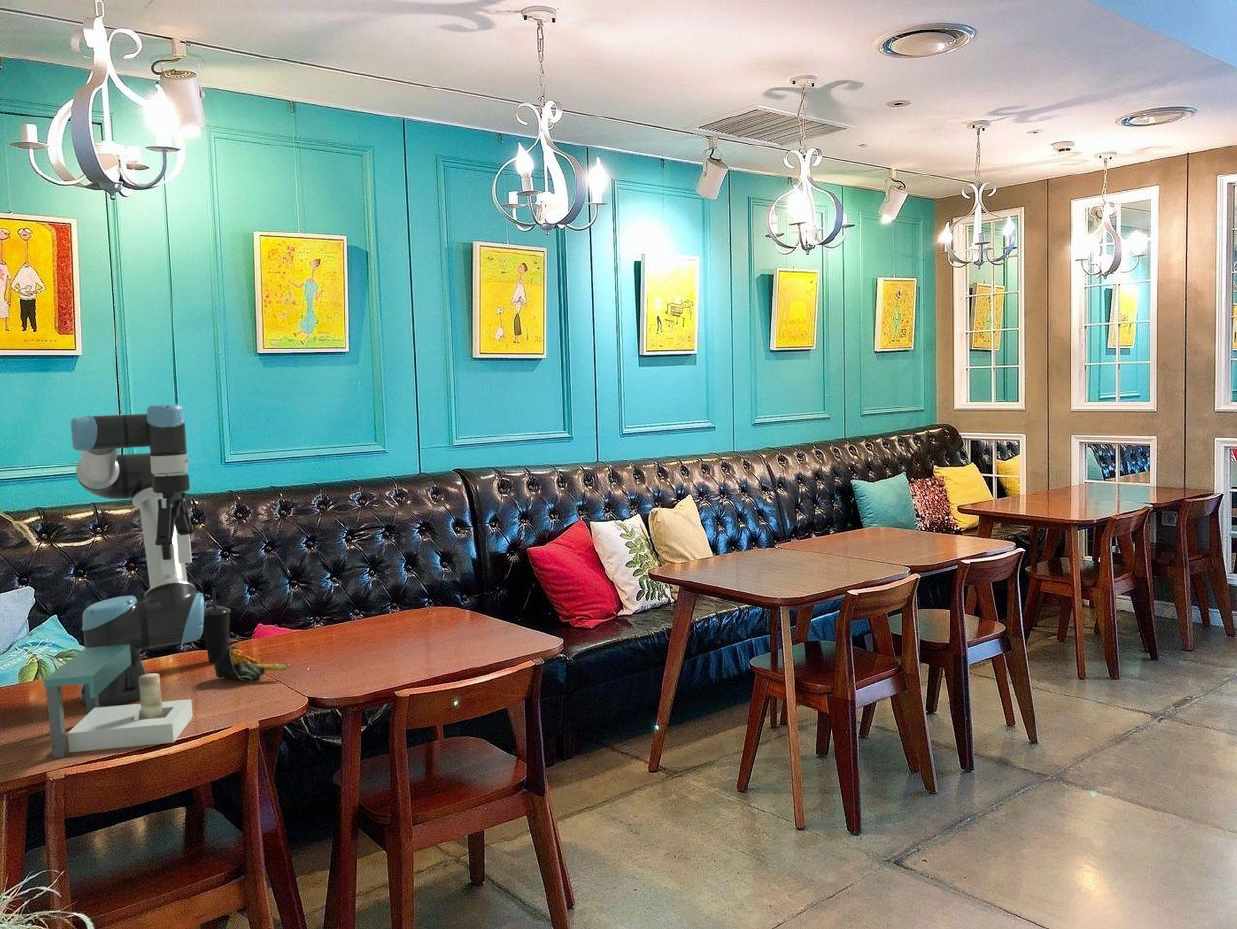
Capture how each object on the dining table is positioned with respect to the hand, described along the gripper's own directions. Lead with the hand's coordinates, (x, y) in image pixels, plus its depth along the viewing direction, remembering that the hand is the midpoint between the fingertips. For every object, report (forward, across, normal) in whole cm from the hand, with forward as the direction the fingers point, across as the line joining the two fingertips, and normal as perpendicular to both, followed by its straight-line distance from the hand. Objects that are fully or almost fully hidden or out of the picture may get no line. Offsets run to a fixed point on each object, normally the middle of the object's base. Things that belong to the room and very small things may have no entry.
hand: (177, 568), depth 220 cm
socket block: (+33, -13, +8) cm, 36 cm away
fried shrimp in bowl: (+33, +21, -10) cm, 40 cm away
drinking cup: (+33, +41, +2) cm, 53 cm away
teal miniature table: (+33, -13, +15) cm, 38 cm away
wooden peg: (+32, -13, +4) cm, 35 cm away
